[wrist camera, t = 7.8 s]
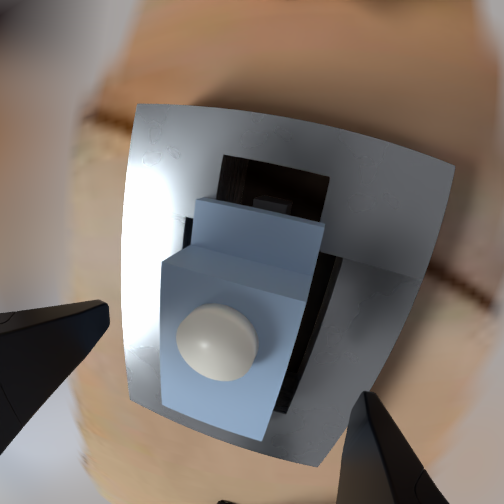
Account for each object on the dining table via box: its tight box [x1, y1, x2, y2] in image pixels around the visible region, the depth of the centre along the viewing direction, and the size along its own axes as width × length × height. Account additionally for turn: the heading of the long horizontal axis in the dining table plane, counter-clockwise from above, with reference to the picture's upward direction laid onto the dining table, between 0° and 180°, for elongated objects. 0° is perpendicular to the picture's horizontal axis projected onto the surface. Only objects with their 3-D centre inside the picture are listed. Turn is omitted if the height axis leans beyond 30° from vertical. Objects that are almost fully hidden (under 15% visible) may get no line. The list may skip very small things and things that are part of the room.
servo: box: [160, 195, 325, 441], centre depth 11 cm, size 9×4×6 cm, turn 171°
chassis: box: [121, 104, 455, 467], centre depth 12 cm, size 15×11×3 cm
